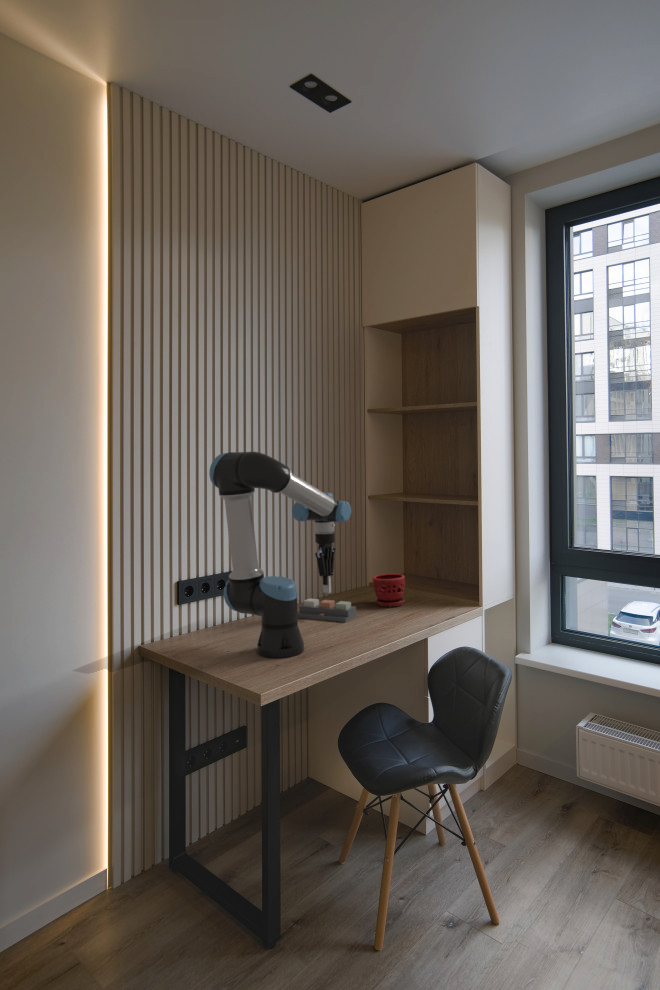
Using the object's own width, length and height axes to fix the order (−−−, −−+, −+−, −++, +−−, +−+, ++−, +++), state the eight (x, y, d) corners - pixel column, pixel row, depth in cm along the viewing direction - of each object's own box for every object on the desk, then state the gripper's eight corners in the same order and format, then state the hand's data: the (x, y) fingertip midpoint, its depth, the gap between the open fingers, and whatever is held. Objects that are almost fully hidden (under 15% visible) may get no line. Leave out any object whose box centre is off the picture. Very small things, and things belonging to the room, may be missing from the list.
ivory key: (313, 609, 239) (313, 601, 239) (304, 608, 241) (303, 600, 241) (319, 606, 243) (318, 599, 243) (309, 605, 245) (309, 598, 245)
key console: (345, 622, 229) (345, 612, 229) (296, 617, 239) (296, 607, 238) (356, 616, 238) (355, 606, 237) (308, 611, 247) (307, 602, 247)
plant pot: (405, 600, 260) (404, 572, 260) (405, 608, 247) (404, 578, 247) (374, 600, 262) (373, 573, 261) (373, 608, 249) (372, 579, 248)
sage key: (346, 612, 233) (346, 604, 233) (335, 611, 235) (335, 603, 235) (351, 609, 237) (350, 601, 237) (340, 608, 239) (340, 601, 239)
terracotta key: (329, 610, 236) (329, 603, 236) (319, 609, 238) (319, 602, 238) (334, 608, 240) (334, 600, 240) (324, 607, 242) (324, 599, 242)
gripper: (325, 535, 230) (328, 597, 231) (340, 530, 241) (343, 589, 243) (308, 534, 233) (310, 595, 235) (323, 530, 245) (326, 588, 246)
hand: (327, 592), depth 239 cm, fingers closed
